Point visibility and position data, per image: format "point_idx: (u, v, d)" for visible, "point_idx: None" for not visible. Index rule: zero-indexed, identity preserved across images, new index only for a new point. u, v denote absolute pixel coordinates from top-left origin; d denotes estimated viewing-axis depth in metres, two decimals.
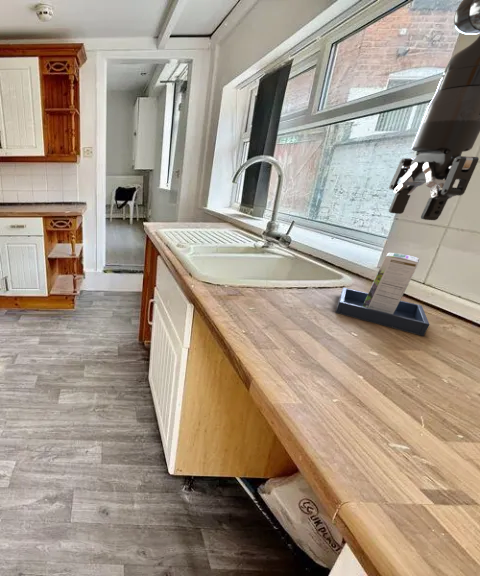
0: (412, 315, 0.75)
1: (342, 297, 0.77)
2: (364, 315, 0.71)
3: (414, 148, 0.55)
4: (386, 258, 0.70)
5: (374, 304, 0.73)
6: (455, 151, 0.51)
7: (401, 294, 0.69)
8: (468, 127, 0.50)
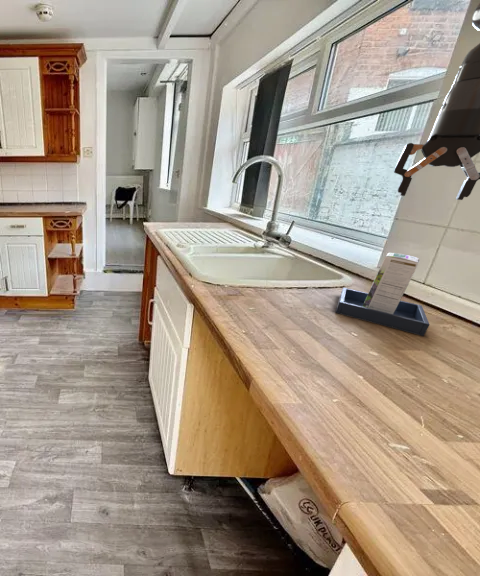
0: (412, 315, 0.75)
1: (342, 297, 0.77)
2: (364, 315, 0.71)
3: (456, 133, 0.58)
4: (386, 258, 0.70)
5: (374, 304, 0.73)
6: None
7: (401, 294, 0.69)
8: None
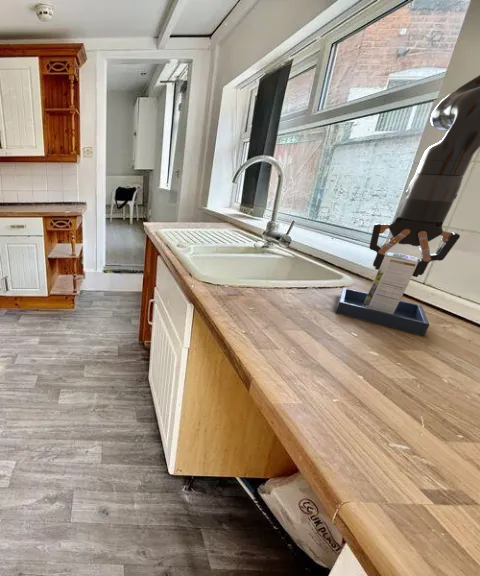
0: (412, 315, 0.75)
1: (342, 297, 0.77)
2: (364, 315, 0.71)
3: (417, 220, 0.64)
4: (386, 258, 0.70)
5: (374, 304, 0.73)
6: None
7: (401, 294, 0.69)
8: (450, 206, 0.63)
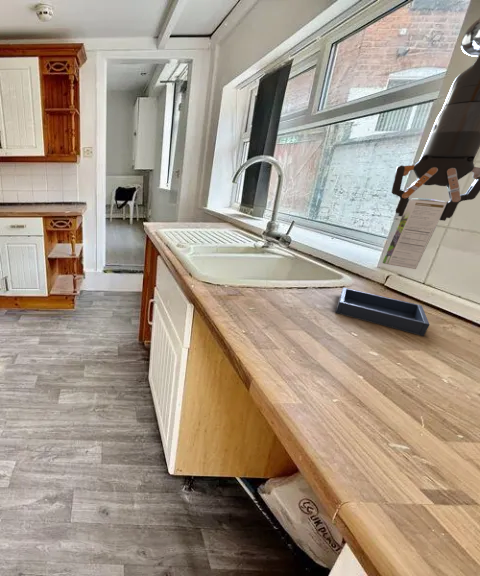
0: (412, 315, 0.75)
1: (342, 297, 0.77)
2: (364, 315, 0.71)
3: (446, 155, 0.59)
4: (410, 201, 0.65)
5: (397, 253, 0.68)
6: (473, 159, 0.59)
7: (427, 240, 0.64)
8: None
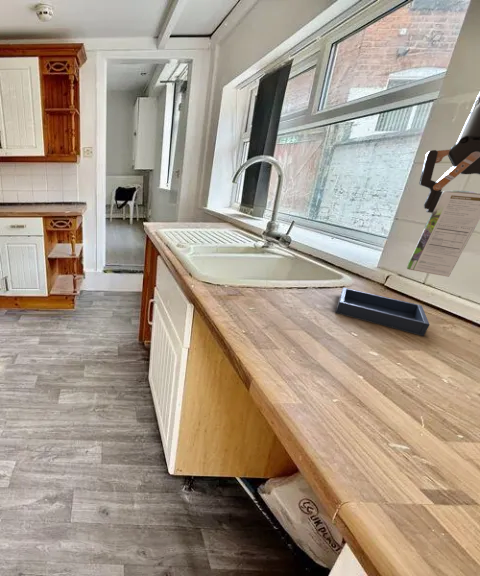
0: (412, 315, 0.75)
1: (342, 297, 0.77)
2: (364, 315, 0.71)
3: None
4: (444, 194, 0.53)
5: (425, 257, 0.56)
6: None
7: (465, 241, 0.52)
8: None
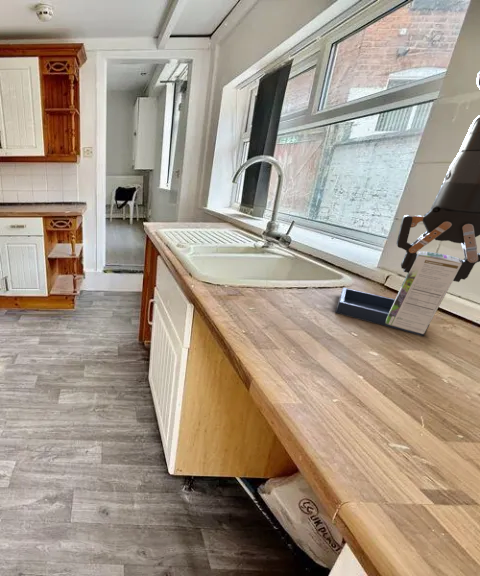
0: None
1: (342, 297, 0.77)
2: (364, 315, 0.71)
3: (462, 209, 0.50)
4: (419, 258, 0.56)
5: (402, 315, 0.59)
6: None
7: (438, 303, 0.55)
8: None
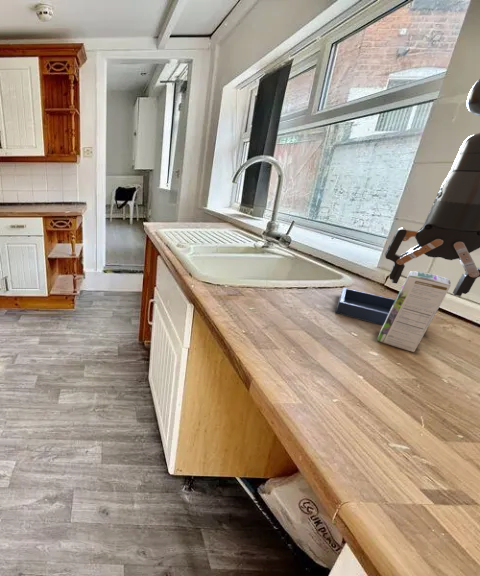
0: None
1: (342, 297, 0.77)
2: (364, 315, 0.71)
3: (453, 228, 0.51)
4: (409, 279, 0.57)
5: (393, 333, 0.61)
6: None
7: (428, 323, 0.57)
8: None
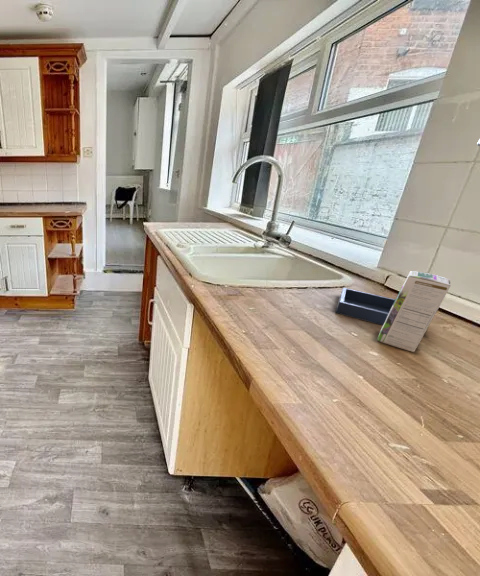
0: None
1: (342, 297, 0.77)
2: (364, 315, 0.71)
3: None
4: (409, 279, 0.57)
5: (393, 333, 0.61)
6: None
7: (428, 323, 0.57)
8: None
